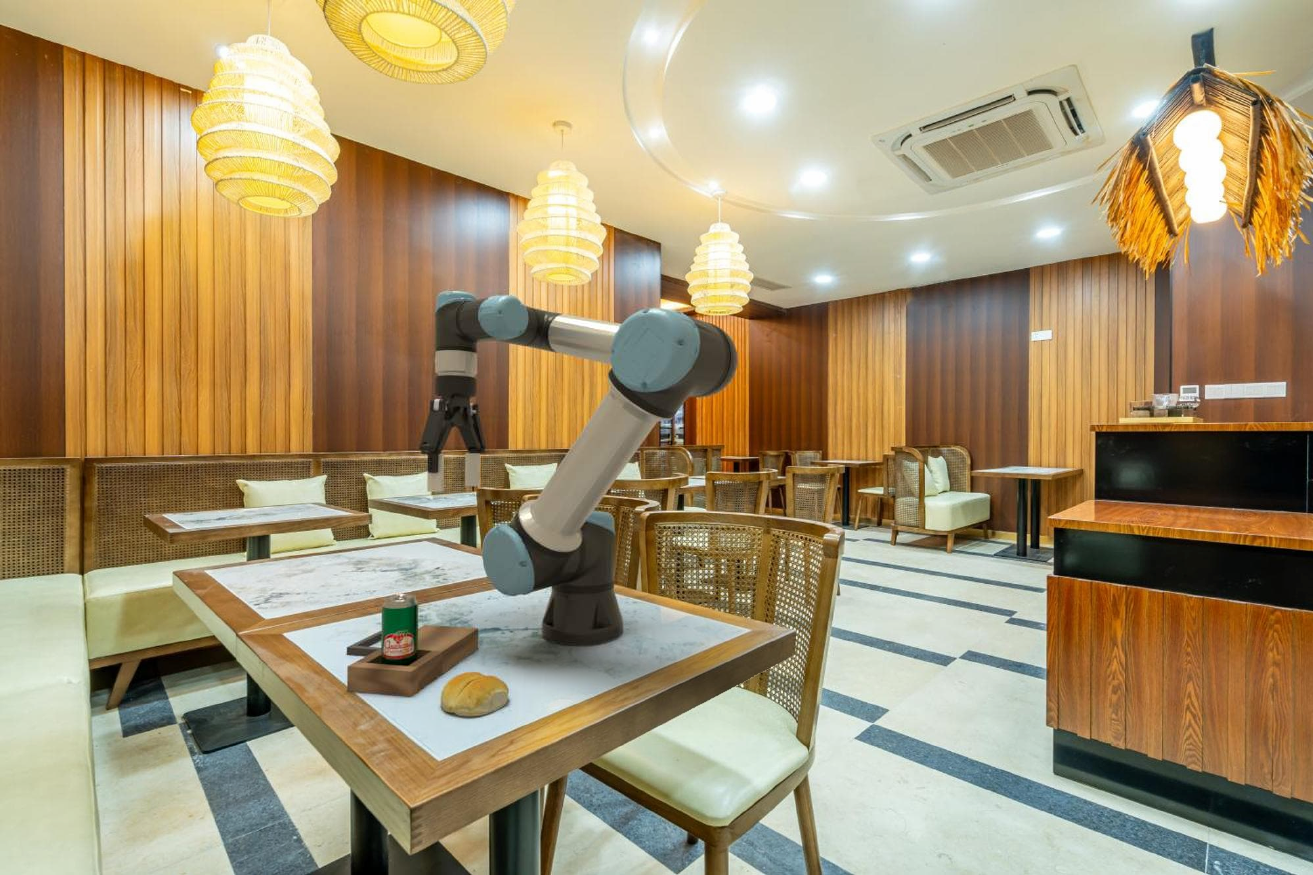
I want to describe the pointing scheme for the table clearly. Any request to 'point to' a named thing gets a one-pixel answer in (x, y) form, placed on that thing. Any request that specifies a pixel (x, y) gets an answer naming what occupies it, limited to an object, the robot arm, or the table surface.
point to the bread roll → (474, 694)
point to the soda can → (399, 630)
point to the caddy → (434, 659)
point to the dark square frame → (364, 645)
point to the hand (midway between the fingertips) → (454, 488)
